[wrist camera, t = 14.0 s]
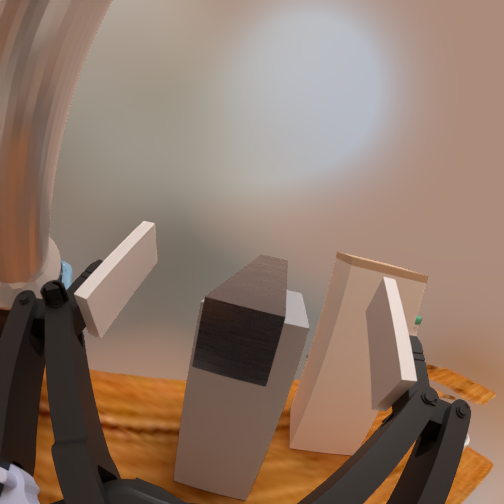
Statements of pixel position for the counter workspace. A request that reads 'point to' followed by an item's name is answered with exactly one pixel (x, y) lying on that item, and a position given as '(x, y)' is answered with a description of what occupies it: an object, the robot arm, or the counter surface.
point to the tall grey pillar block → (236, 415)
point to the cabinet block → (345, 357)
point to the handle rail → (244, 322)
